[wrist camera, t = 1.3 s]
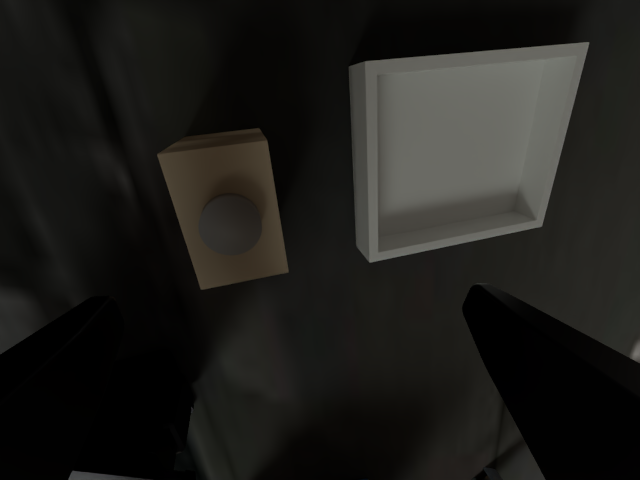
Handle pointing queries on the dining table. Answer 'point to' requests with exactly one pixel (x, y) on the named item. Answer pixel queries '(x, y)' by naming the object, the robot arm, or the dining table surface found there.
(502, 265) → the dining table surface
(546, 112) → the housing tray
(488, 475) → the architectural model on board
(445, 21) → the dining table surface
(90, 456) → the robot arm
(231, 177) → the brown block
